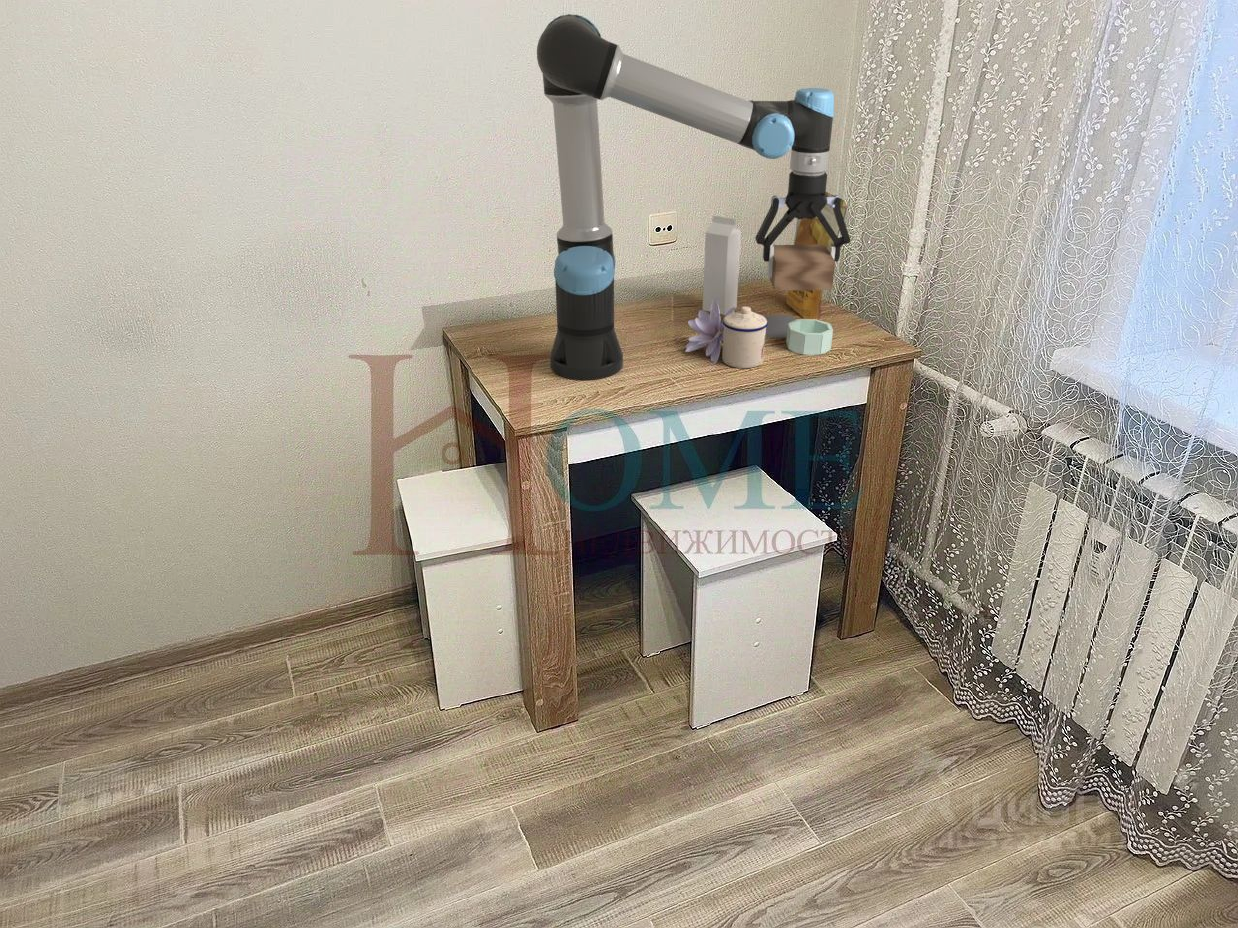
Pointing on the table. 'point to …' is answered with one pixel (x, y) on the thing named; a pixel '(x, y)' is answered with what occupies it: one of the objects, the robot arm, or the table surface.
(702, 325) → the water lily
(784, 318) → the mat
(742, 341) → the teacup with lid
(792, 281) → the brown wooden block
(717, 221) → the milk
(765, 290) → the table surface
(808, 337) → the bowl
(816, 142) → the robot arm
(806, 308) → the pancake mix bag
